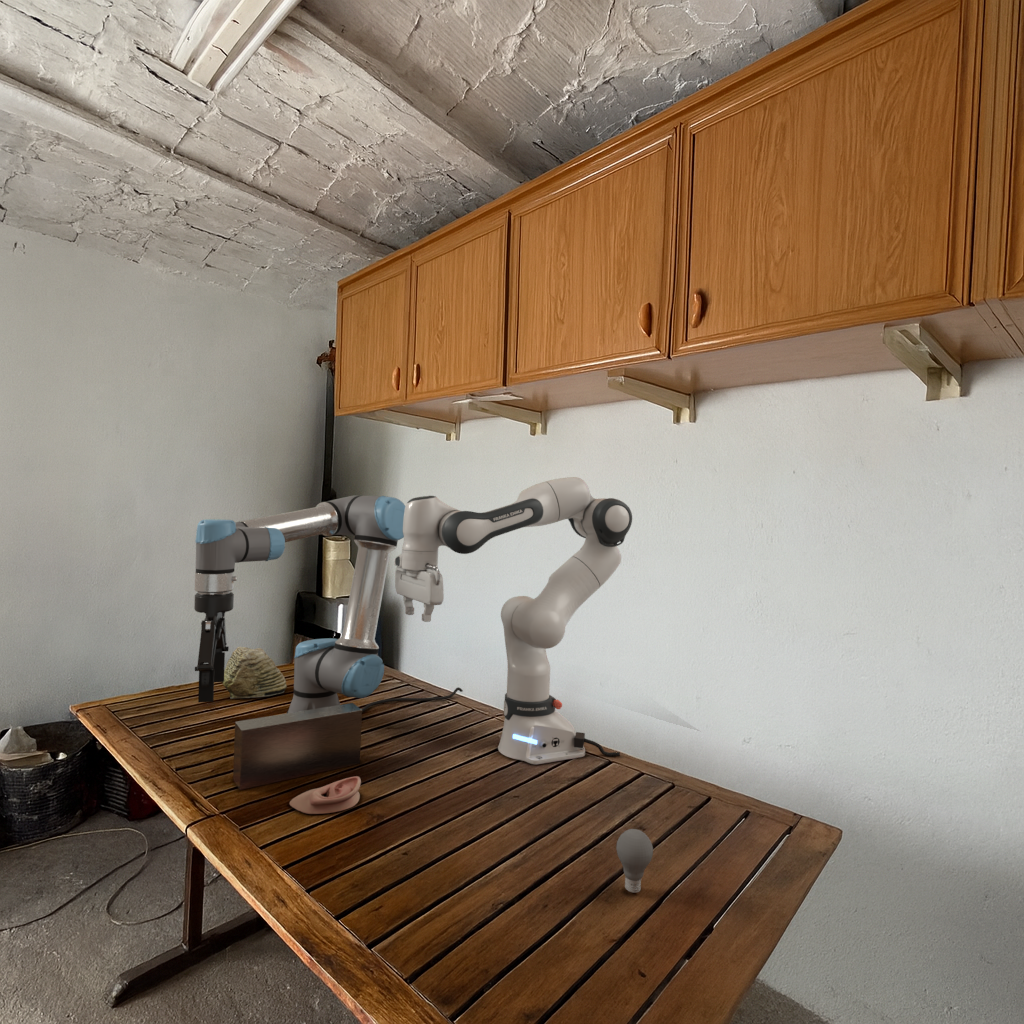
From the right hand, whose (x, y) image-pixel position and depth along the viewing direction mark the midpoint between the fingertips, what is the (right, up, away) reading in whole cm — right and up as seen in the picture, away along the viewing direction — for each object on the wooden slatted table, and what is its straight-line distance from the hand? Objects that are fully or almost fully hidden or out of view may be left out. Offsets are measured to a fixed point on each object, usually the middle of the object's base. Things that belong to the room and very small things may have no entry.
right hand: (417, 617), depth 156 cm
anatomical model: (-16, -34, -24) cm, 45 cm away
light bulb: (+43, -37, -50) cm, 76 cm away
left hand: (-41, -12, -20) cm, 47 cm away
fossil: (-57, -31, +43) cm, 78 cm away
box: (-26, -34, -10) cm, 44 cm away
